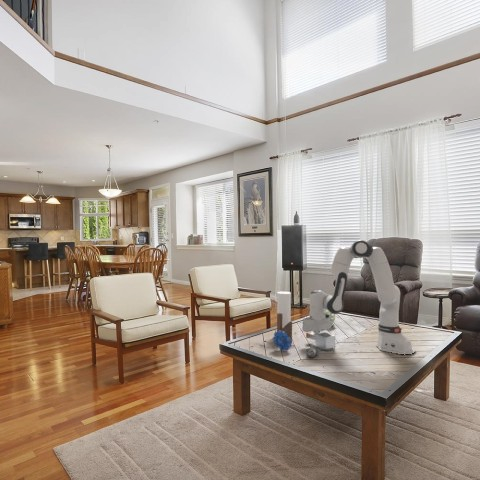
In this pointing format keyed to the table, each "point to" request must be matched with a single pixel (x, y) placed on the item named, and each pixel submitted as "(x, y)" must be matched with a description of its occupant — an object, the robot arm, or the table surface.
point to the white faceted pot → (322, 348)
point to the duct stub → (311, 352)
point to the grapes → (282, 340)
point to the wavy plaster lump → (332, 316)
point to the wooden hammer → (286, 329)
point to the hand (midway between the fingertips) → (316, 336)
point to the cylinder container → (284, 307)
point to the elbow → (322, 340)
